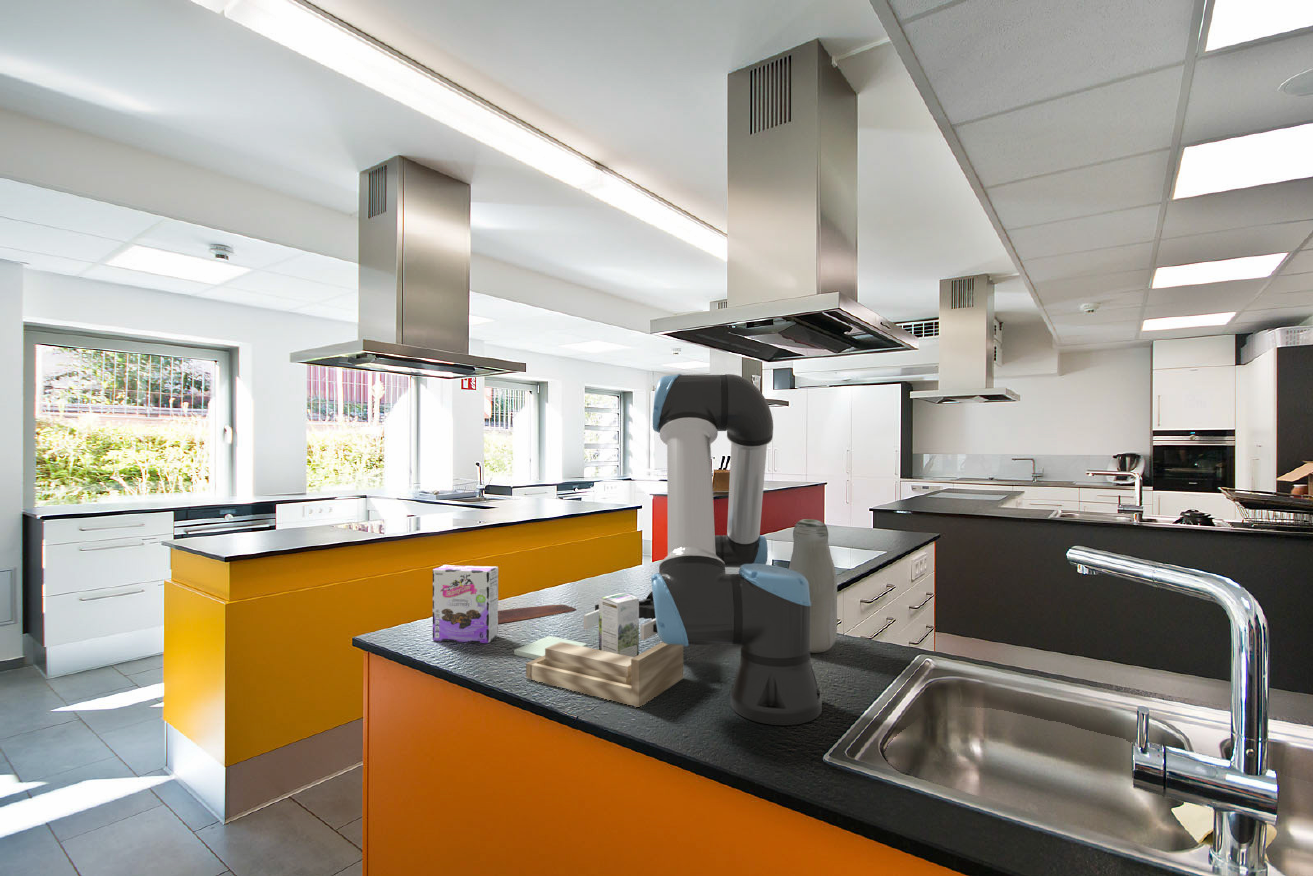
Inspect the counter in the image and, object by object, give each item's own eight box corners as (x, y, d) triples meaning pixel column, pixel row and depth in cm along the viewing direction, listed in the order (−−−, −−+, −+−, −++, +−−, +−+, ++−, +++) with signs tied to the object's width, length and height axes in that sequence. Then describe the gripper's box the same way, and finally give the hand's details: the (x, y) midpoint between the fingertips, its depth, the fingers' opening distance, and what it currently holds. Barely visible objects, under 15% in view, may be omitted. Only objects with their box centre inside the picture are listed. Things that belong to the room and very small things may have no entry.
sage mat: (587, 648, 135) (587, 643, 135) (554, 663, 125) (554, 659, 125) (548, 640, 140) (548, 636, 140) (514, 654, 131) (514, 649, 131)
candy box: (431, 641, 140) (431, 568, 141) (444, 633, 146) (444, 563, 146) (488, 644, 138) (488, 570, 138) (499, 636, 144) (499, 565, 144)
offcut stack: (643, 692, 111) (643, 659, 111) (629, 701, 107) (629, 667, 107) (559, 672, 121) (559, 641, 122) (543, 679, 118) (543, 648, 118)
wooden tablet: (565, 599, 173) (579, 603, 165) (565, 608, 173) (579, 612, 165) (469, 614, 160) (479, 619, 151) (469, 623, 159) (479, 628, 151)
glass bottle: (843, 648, 134) (841, 518, 134) (827, 662, 125) (825, 523, 125) (799, 640, 139) (798, 515, 139) (781, 653, 131) (780, 520, 131)
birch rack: (683, 678, 117) (682, 635, 117) (638, 708, 104) (638, 660, 104) (577, 655, 130) (577, 617, 131) (526, 679, 117) (525, 637, 117)
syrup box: (619, 663, 125) (619, 591, 125) (639, 670, 121) (639, 596, 121) (598, 671, 121) (597, 596, 121) (618, 678, 117) (617, 602, 117)
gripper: (718, 628, 132) (668, 657, 113) (622, 612, 145) (563, 636, 126) (718, 592, 132) (668, 616, 114) (622, 580, 145) (563, 599, 127)
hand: (612, 627), depth 120 cm, fingers open, 13 cm apart
